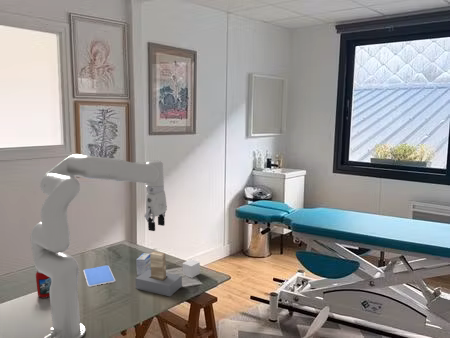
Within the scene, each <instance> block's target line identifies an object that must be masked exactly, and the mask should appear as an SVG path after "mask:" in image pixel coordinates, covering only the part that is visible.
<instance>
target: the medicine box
mask: <svg viewBox="0 0 450 338" xmlns="http://www.w3.org/2000/svg"><path fill="white" fill-rule="evenodd" d="M135 264H136V274H137V275H136V277H138V276H140V275H141V274H142V273H144V272H145V271H147V270H148V269H150V270H151V258H150V253H147V252H146V253H144V252H143V253H141V255H139V257H138V258H136V263H135Z"/></svg>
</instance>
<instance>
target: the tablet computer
mask: <svg viewBox="0 0 450 338" xmlns="http://www.w3.org/2000/svg"><path fill="white" fill-rule="evenodd" d="M83 274H84V277H85V281H86V285H87V287H88V288H92V287H96V286H97V285H98V286H101V284H103V285H107V284H106V283H108V284H112V283H116V278H115V277H114V274H113V272H112V270H111V268H110V266H109V265H101V266H97V267H92V268H85V269H83Z"/></svg>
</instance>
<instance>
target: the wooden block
mask: <svg viewBox="0 0 450 338" xmlns="http://www.w3.org/2000/svg"><path fill="white" fill-rule="evenodd" d="M149 254H150V258H151V278H153V279H157V280H162V281H163V280H164V279H165V278H166V273H167V264H166V253H165V252H160V251H155V250H154V251H152V252H150V253H149Z"/></svg>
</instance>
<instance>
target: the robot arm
mask: <svg viewBox="0 0 450 338" xmlns="http://www.w3.org/2000/svg"><path fill="white" fill-rule="evenodd" d="M76 177H77V178H82V179H87V180H101V181H103V180H104V181H113V182H114V181H116V182H130V183H139V184H142V183H143V184H146V185H145V186H146V197H145V214H144V218H145V219H146V222H147V224H148V225H147V226H148V231H150V232H155V231H156V222H155V219H156V217H157V225H158V226H163V227H164V226H165V220H166V219H165V217H166V211H167V210H168V209H167V208H168V207H167V206H168V205H167V197H166V192H165V184H164V183H165V181H164V178H165V177H164V163H163V162H162V160H148V161H146V162H141V161H140V162H139V161H138V162H133V161H128V160H127V161H126V160H123V159H119V158H118V159H117V158H109V157H102V156H101V157H99V156H94V155H93V156H92V155H85V154H79V153H75V154H71V155H69V156H68V157H66V158H64V159H63V160H62V161H60V162H59V163H58V164H56V165H55V166H54V167H53V168H51V169H50V170H49V171H47V172H46V173H45V174H44V175H43V176H42V178H41V179H40V182H39V183H40V186H39V187H40V190H41V192H42V193H44V195H46V196H47V197H46V199H45V200H44V201H43V204H42V206H41V208H40V222H37V223H36V224H35V225H34V226H33V228H32V229H31V232H30V246H31V251H32V257H33V263H34V266H35V268H36V270H38V271H39V272H41V273H43V274H44V275H46V276H48V277H50V278H51V280H52V282H51V286H50V296H49V300H50V301H49V302H50V312H51V313H50V314H51V321H52V322H51V323H52V327H50V332H49V333H48V335H45V336H44V337H43V338H82V337H83V336H85V334H86V326H85V325H84V324H83V323H81V317H80V316H81V314H80V303H79V291H78V276H79V263H78V261H77V260H76V258H74V257H73V256H72V255H71V254H68V253H65V252H66V251H67V250H68V249H69V248H70V245H71V232H70V227H69V218H68V210H69V206H70V205H71V203H72V202H73V200H75V199H76V197H77V196H78V195H79V192H80V190H81V185H80V182H79V181H78V179H76Z"/></svg>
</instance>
